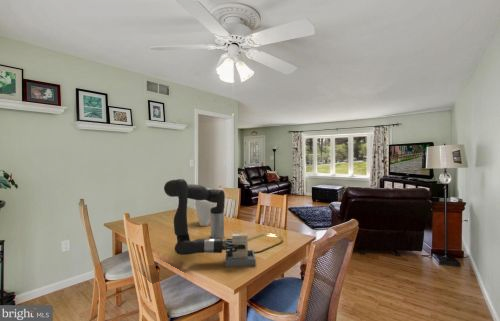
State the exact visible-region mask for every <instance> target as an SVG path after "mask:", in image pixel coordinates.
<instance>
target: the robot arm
mask: <svg viewBox="0 0 500 321" xmlns="http://www.w3.org/2000/svg"><path fill="white" fill-rule="evenodd" d="M163 190H164V193H165V194H166V195H167V196H168V197H170V198H171V197H172V198H174V197H178V205H177V209H176V212H175V214H174V216H173V230H174V235H175V236H176V243H175V245H174V252H175V253H176V254H177V255H181V256H186V255H187V256H189V255H192V254H196V253H197V254H201V253H202V254H205V253H206V254H222V253H223V251H225V254H226V253H228V252H236V251H237V250H238V249H245V245H234V244H232V238H226V240H223V238H224V237H225V215H224V214H225V213H224V212H225V210H224V209H225V200H226V199H225V198H226V197H225V195H226V194H225V191H224V190H223V189H212V188H209V189H208V188H206V187H205V186H203V185H200V184H188V182H187V180H185V179H183V178H179V179H171V180H167V182H166V183H164V187H163ZM188 199H190V200H194V201H195V200H206V201H209V202H213V204H216V206H213V208H211V216H210V238H198V239H194V240H191V239H190V235H189V234H190V233H189V227H188V218H187V217H188V216H187V215H188V214H187V212H188V201H189V200H188Z"/></svg>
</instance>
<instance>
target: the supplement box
mask: <svg viewBox="0 0 500 321" xmlns="http://www.w3.org/2000/svg"><path fill="white" fill-rule="evenodd" d="M231 239H232V244H234V245H245V249H238V250H237V251H236V252H233V259H248V250H249V248H248V245H249V244H248V242H247V239H248V232H232V235H231Z"/></svg>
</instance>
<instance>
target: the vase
mask: <svg viewBox="0 0 500 321" xmlns="http://www.w3.org/2000/svg"><path fill="white" fill-rule="evenodd" d="M207 189H210V188H207ZM194 206H195V211H196V214H197V217H198V221H199V223H198V224H199V226H201V227H207V226H209V225H210V221H211V208H213V207H214V203H213V202H209V201H206V200H194Z"/></svg>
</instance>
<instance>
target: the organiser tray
mask: <svg viewBox="0 0 500 321" xmlns="http://www.w3.org/2000/svg"><path fill="white" fill-rule="evenodd" d="M254 251H255V250H254V249H248V259H233V252H228V253H226V252H225V268H228V267H248V266H249V267H250V266H252V267H255V266H256V256H255V253H254Z"/></svg>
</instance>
